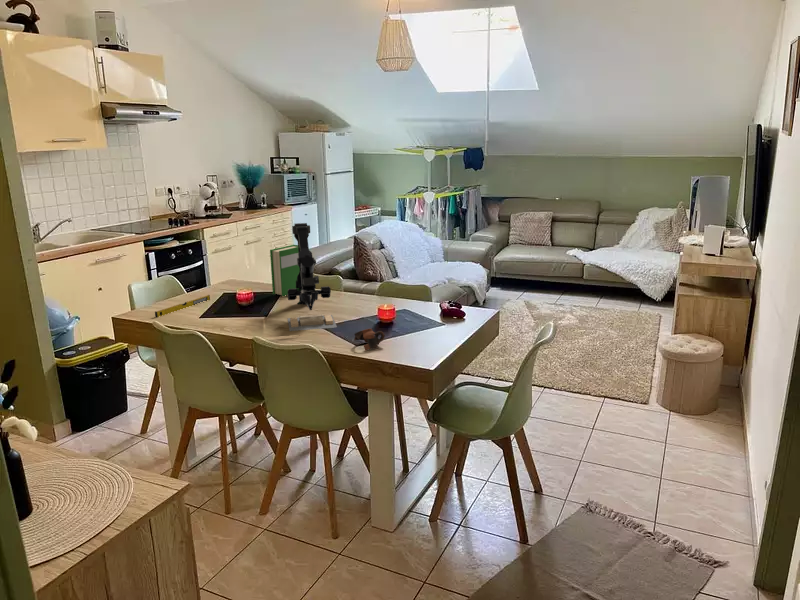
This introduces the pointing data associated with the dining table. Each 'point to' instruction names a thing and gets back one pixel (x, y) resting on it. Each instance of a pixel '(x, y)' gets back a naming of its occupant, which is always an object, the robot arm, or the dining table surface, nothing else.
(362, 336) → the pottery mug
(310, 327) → the plank mat
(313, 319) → the birch plank
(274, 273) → the hardback book
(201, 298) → the spirit level
